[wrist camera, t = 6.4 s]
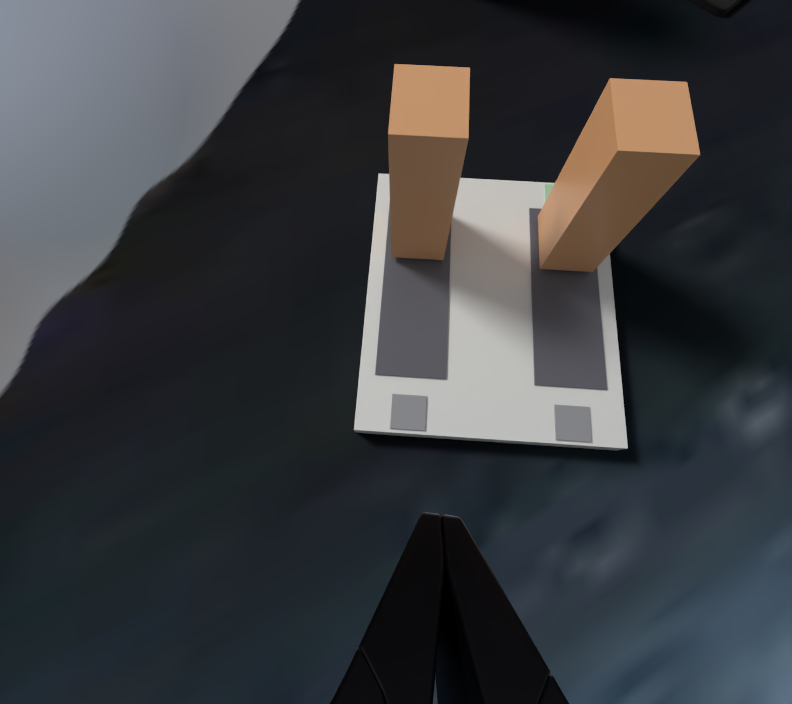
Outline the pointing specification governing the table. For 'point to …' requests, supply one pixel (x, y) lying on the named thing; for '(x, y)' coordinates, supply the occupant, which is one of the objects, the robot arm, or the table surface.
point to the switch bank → (489, 333)
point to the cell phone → (717, 5)
